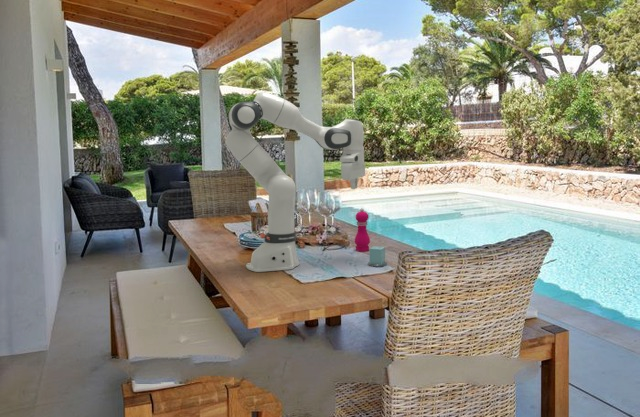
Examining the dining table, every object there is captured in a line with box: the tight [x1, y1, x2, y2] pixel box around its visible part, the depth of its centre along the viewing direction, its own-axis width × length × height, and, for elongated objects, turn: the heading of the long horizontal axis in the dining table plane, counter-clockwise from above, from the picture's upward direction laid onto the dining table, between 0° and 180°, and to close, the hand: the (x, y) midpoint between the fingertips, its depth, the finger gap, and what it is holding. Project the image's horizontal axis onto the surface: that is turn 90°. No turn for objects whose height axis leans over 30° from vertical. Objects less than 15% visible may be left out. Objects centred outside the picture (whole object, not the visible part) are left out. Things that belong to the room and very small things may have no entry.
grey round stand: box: [367, 261, 388, 268], centre depth 249 cm, size 8×8×6 cm
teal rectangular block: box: [368, 245, 386, 265], centre depth 249 cm, size 5×5×7 cm
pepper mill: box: [354, 207, 371, 253], centre depth 277 cm, size 7×7×20 cm
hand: (354, 188), depth 256 cm, fingers closed
